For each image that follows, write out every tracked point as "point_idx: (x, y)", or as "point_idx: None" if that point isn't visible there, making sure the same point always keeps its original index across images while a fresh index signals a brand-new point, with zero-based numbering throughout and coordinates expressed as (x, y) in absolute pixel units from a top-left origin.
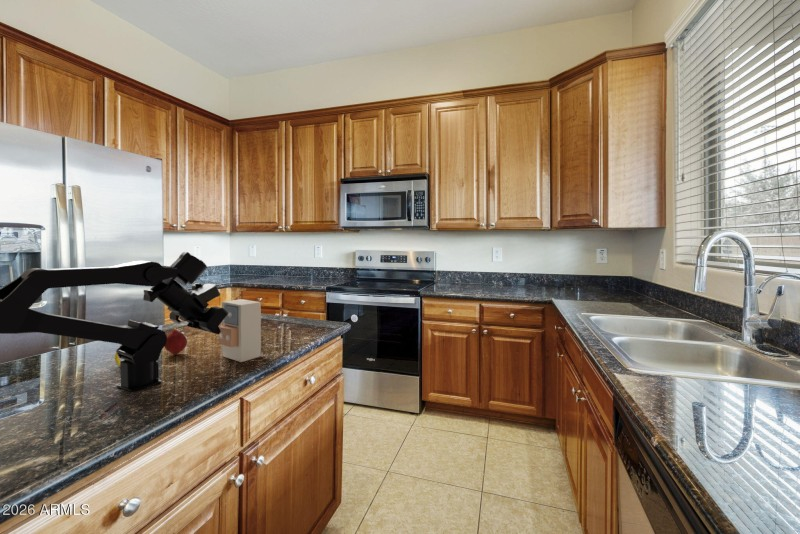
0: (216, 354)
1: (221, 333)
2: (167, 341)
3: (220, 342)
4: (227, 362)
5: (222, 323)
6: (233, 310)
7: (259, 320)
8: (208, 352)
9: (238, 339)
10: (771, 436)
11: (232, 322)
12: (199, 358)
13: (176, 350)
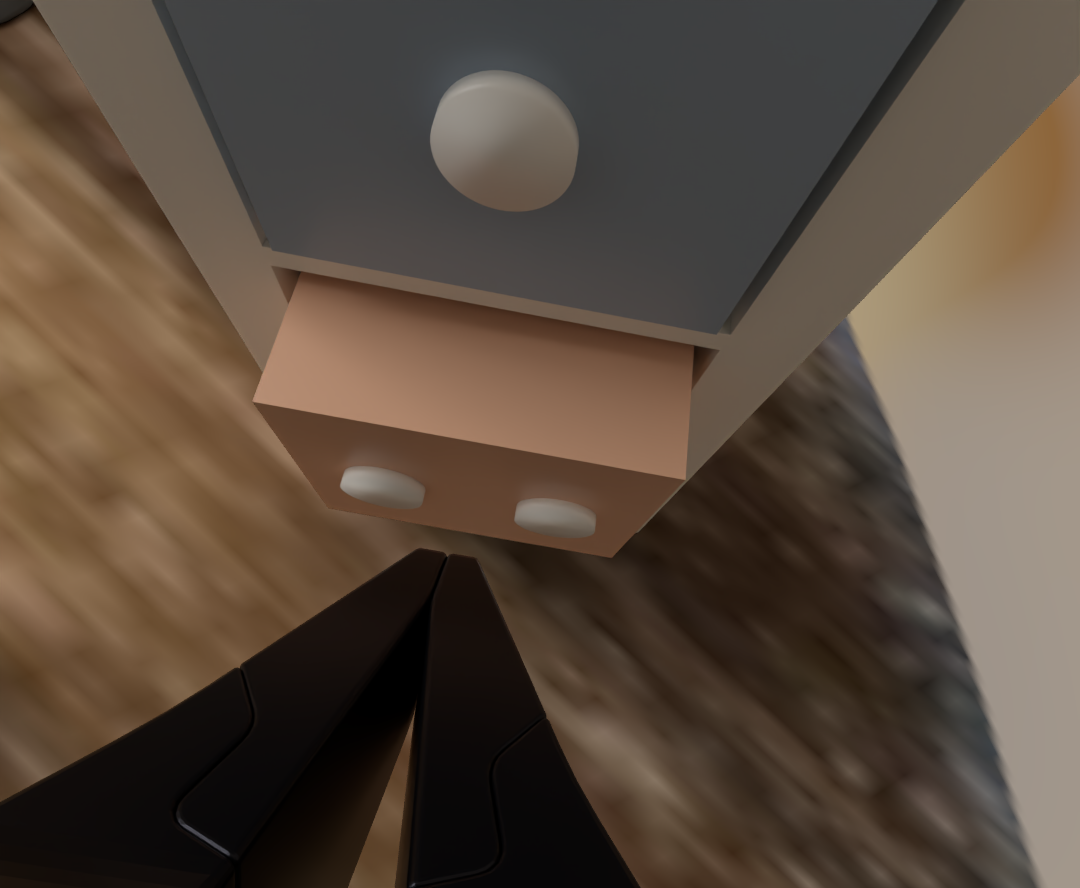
0: (222, 456)
1: (370, 464)
2: None
3: (366, 509)
4: (526, 595)
5: (199, 247)
6: (695, 6)
7: None
8: (86, 441)
9: None
10: None
11: (572, 285)
12: (139, 632)
13: None
